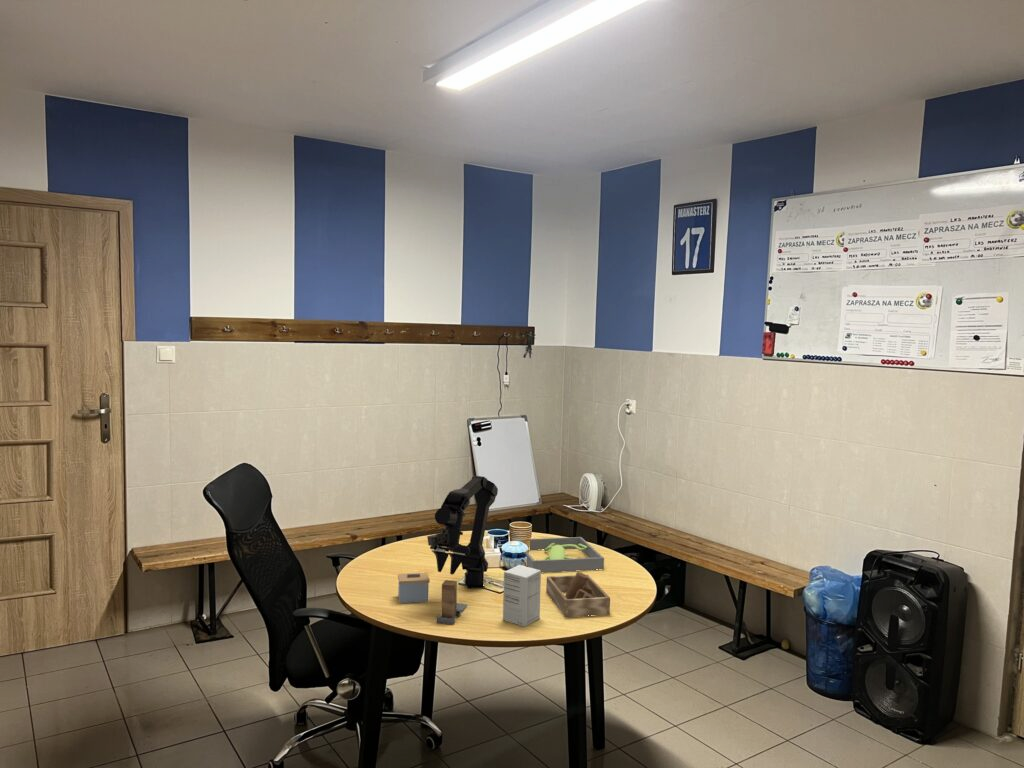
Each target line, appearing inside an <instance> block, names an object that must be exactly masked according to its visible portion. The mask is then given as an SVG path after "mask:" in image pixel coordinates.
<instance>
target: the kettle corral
mask: <svg viewBox="0 0 1024 768" xmlns="http://www.w3.org/2000/svg"><path fill="white" fill-rule="evenodd" d="M529 539H530V551H529V552H532V551H531V550H537V551H539V550H538V549H545V548H547V547H548V546H549V545H550V544H551V543H555V545H566V544H573V545H577V546H578V547H579V548H583V547H580V546H579V545H578V544H582V545H585V546H587V549H585V550H583V551H581V552H582V553H583V554H584V555H585V556H586V555H587V556H588V557H589V558H588V557H587V556H586V557H581V558H575V557H574V558H573V559H554V560H550V559H547V560H543V559H534V557H532V555H531V554H530V553H529V552H528V554H527V566H528V567H530V568H534V569H538V570H541V574H543V573H542V572H553V573H563V572H562V571H573V572H577V571H576V570H594V571H600V570H599V569H604V568H605V557H604V556H603V555H601V553H599V552H598V551H597V550H596V549H595V548H594V547H593V546H592V545H591V544H590V543H588V541H586V540H585V539H584V538H583V537H582V536H575V537H571V536H570V537H549V538H548V537H546V538H529ZM555 545H554V546H555ZM564 549H565V550H575V549H576V548H575V547H564ZM576 550H577V549H576ZM527 566H526V567H527ZM596 569H598V570H596Z"/></svg>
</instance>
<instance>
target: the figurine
mask: <svg viewBox="0 0 1024 768" xmlns="http://www.w3.org/2000/svg"><path fill="white" fill-rule="evenodd" d="M554 545H555V543H551V544H550V545H549V546H548V547H547V548H545V549H544V550H543V551H544V552H548V555H547V556H546V557H543V559H542V560H554V559H574V558H573V557H569V556H566V549H564V547H575V548H576V550H578V551H581V552H582V551H583V550H585V549H587V546H585V545H582V544H578V545H579V546H580V547H583V548H579V547H578V546H577V545H573V544H566V545H555V546H554ZM549 549H550V550H549Z"/></svg>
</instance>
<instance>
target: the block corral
mask: <svg viewBox="0 0 1024 768" xmlns="http://www.w3.org/2000/svg"><path fill="white" fill-rule="evenodd" d="M575 575H576V574H575ZM575 575H574V574H571V575H569V574H568V575H554V576H553V575H552V576H551V575H550V576H546V586H545V587H546V588H545V590H546V591H545V592H546V594H547V595H548V597H549V599H550V600H551V599H552V600H551V601H552V602H553V604H554V603H555V604H554V605H555V607H556V608H557V609H558V610H559V611H560V613H561V615H562V616H563V615H564V616H563V617H564V618H565V617H568V618H579V617H578V616H584V617H592V616H591V615H599V616H609V615H610V613H611V611H610V610H611V609H610V607H611V605H610V604H611V597H610V596H609V595H608V594H607V592H606V591H604V590H603V589H602V588H601V587H600V585H598V584H597V582H596V581H595V580H594V579H593V578H592V577H591V576H590V575H589V574H585V575H586V576H587V577H588V579H587V581H586V583H585V585H584V587H586V588H588V589H590V590H592V591H591V593H590V594H591V595H593V598H580V599H567V598H566V597H565V595H566V594H564V593H567V591H568V589H569V587H570V585H571V583H572V581H573V579H574V577H575ZM584 587H583V588H584ZM562 592H563V593H562ZM608 614H609V615H608ZM588 615H589V616H588Z"/></svg>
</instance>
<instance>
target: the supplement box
mask: <svg viewBox="0 0 1024 768" xmlns="http://www.w3.org/2000/svg"><path fill="white" fill-rule="evenodd" d="M541 580H542V573H541V570H538V569H534V568H530V567H527V566H526V565H522V564H518V565H515V566H514V567H511V568H510V569H507V570H505V571H504V572H503V593H502V594H503V601H502V606H503V607H502V620H503V621H504V620H505V622H509V623H511V624H514V623H515V625H517V624H518V626H520V627H521V626H522V627H524V626H525V627H528V626H529V625H531V624H533V623H534V622H536V621H537V620H538V619H540V616H541V614H540V613H541V588H542V587H541V584H542V581H541Z"/></svg>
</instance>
